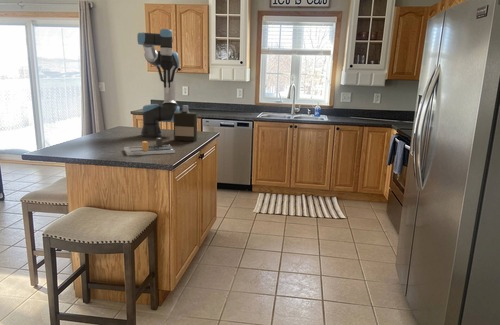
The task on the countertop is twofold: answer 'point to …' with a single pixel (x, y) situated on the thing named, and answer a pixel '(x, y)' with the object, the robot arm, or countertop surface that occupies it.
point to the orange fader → (144, 145)
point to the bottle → (185, 125)
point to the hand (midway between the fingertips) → (167, 92)
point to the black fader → (159, 142)
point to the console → (151, 150)
